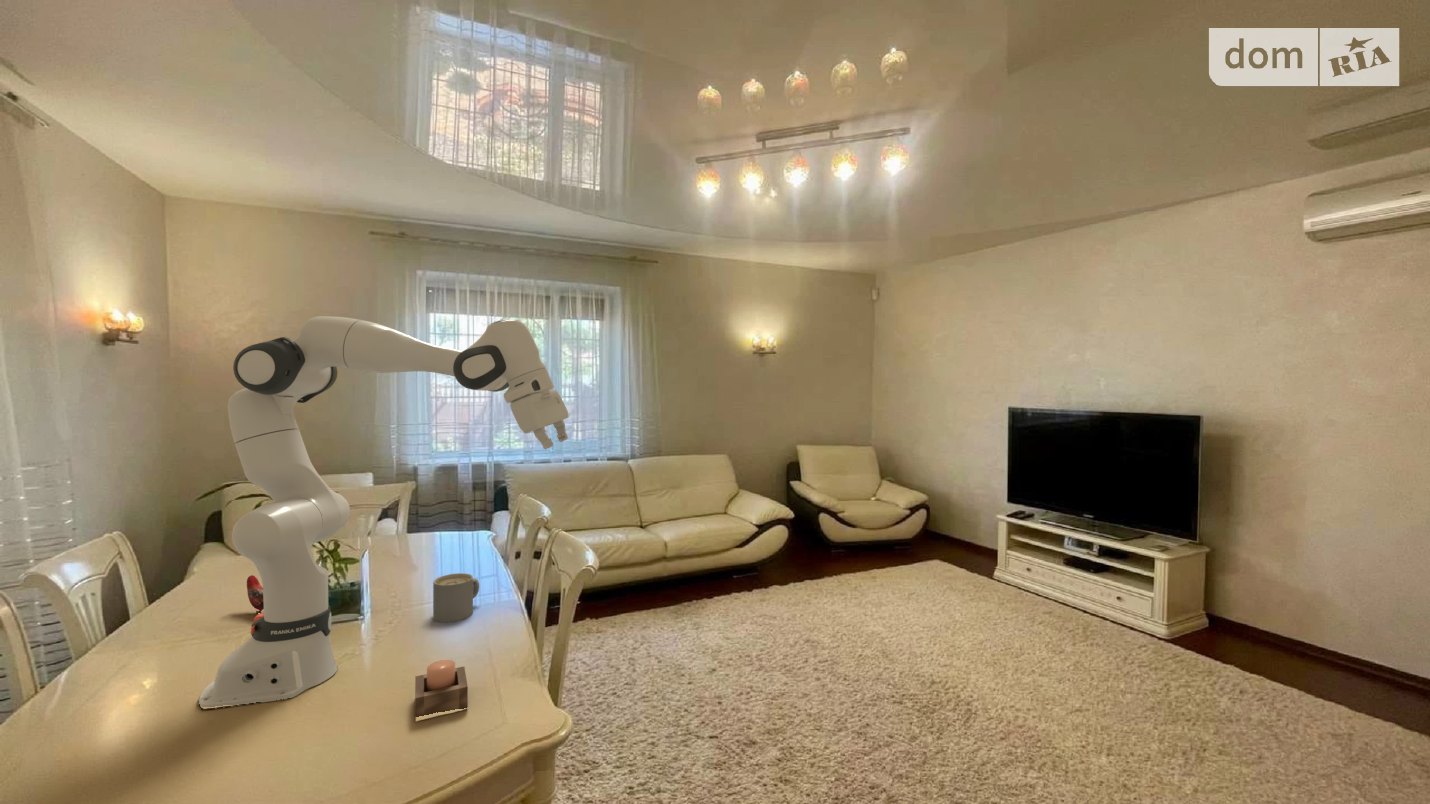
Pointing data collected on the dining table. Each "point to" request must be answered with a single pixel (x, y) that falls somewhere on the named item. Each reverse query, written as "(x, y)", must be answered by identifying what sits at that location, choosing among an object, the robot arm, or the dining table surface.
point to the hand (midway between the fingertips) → (556, 444)
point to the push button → (440, 675)
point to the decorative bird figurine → (255, 593)
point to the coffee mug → (454, 596)
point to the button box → (441, 695)
